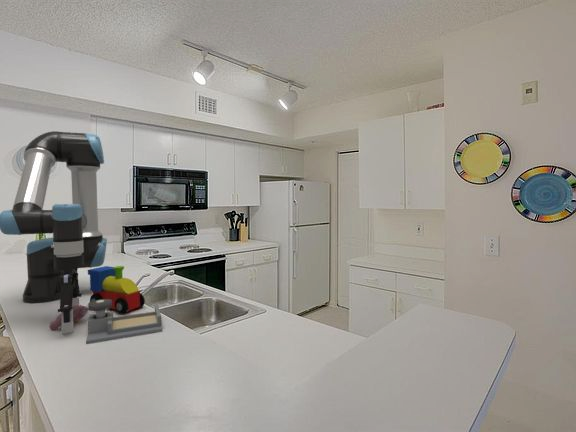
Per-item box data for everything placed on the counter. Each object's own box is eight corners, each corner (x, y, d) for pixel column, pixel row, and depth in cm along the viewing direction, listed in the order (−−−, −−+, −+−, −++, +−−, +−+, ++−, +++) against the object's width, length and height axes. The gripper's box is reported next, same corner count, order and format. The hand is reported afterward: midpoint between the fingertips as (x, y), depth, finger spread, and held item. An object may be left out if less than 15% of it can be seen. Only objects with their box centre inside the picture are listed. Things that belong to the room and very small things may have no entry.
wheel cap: (89, 319, 97) (89, 299, 97) (112, 316, 100) (112, 297, 100) (87, 326, 92) (87, 305, 92) (112, 322, 94) (111, 302, 94)
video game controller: (58, 336, 96) (66, 316, 95) (46, 328, 97) (54, 308, 96) (85, 324, 106) (93, 305, 105) (74, 317, 107) (82, 298, 106)
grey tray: (91, 323, 102) (91, 309, 102) (157, 314, 110) (157, 300, 110) (86, 343, 88) (85, 327, 87) (162, 331, 96) (161, 316, 96)
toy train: (107, 301, 125) (106, 262, 124) (146, 308, 117) (145, 266, 116) (84, 308, 117) (83, 266, 116) (124, 316, 109) (123, 271, 108)
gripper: (61, 250, 109) (63, 314, 110) (44, 263, 87) (47, 342, 88) (87, 248, 112) (89, 311, 113) (78, 260, 90) (80, 337, 91)
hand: (71, 325), depth 100 cm, fingers open, 12 cm apart
